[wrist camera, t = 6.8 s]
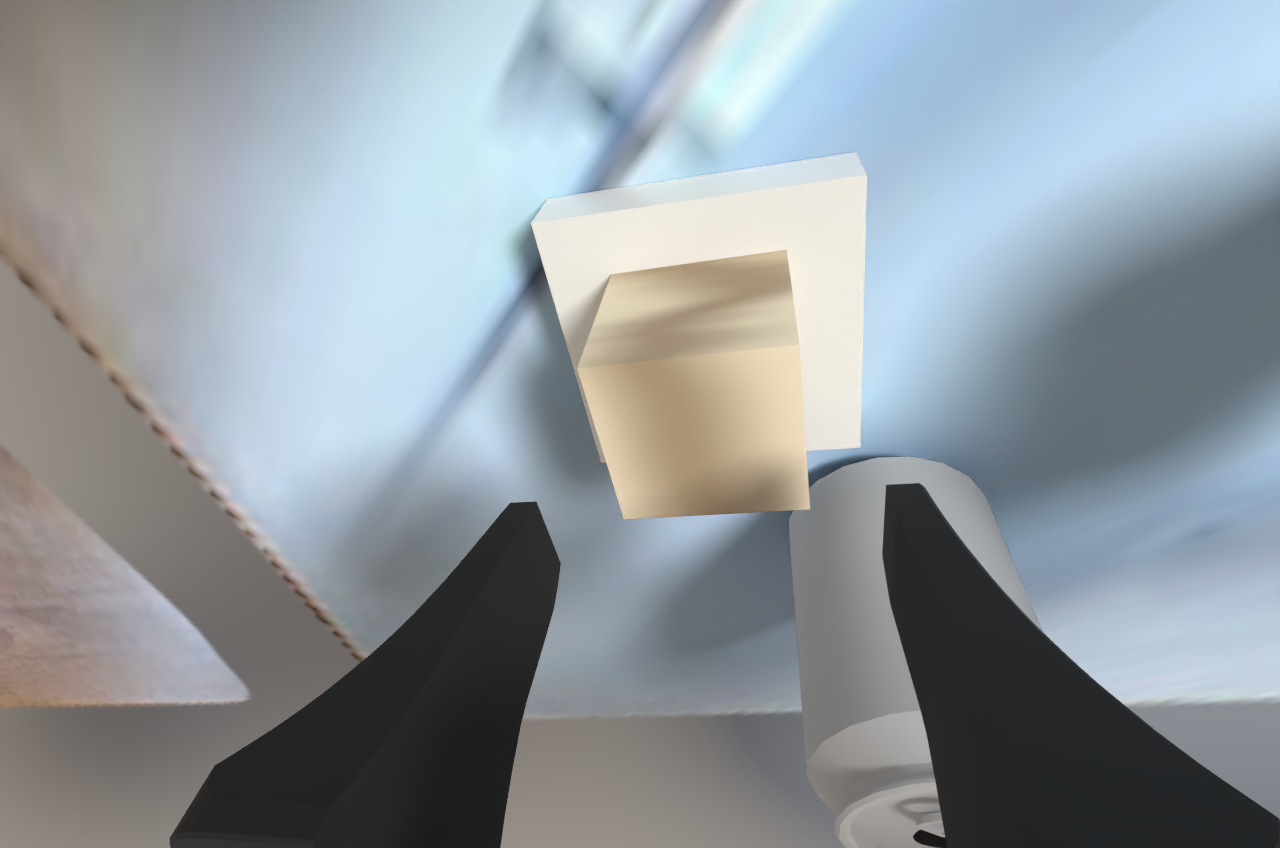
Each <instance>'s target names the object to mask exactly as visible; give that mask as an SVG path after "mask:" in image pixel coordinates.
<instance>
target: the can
mask: <svg viewBox="0 0 1280 848" xmlns="http://www.w3.org/2000/svg"><path fill="white" fill-rule="evenodd" d="M911 483H920V484H921V485H923V486H924V487H925V488H926V489H927V491H928V493H929V494H930V496H931V497H932V499H933V501H934V502H935V504H936V505H937V507H938V508H939V509H940V511H941V512H942V514H943V515H944V517H945V518H946V520H947V521H948V522H949V524H950V525H951V526H952V528H953V529H954V530H955V532H956V533H957V535H958V536H959V537H960V539H961V540H962V541H963V542H964V544H965V545H966V546H967V548H968V549H969V550H970V551H971V553H972V554H973V555H974V556H975V557H976V559H977V560H978V561H979V562H980V564H981V565H982V566H983V567H984V568H985V570H986V571H987V572H988V573H989V574H990V576H991V577H992V578H993V579H994V580H995V581H996V583H997V584H998V585H999V586H1000V587H1001V588H1002V590H1003V591H1004V592H1005V593H1006V594H1007V595H1008V596H1009V597H1010V598H1011V599H1012V600H1013V602H1014V603H1015V604H1016V605H1017V606H1018V607H1019V608H1020V609H1021V610H1022V611H1023V612H1024V613H1025V615H1026V616H1027V617H1028V618H1029V619H1030V620H1031V621H1032V622H1033V623H1034V624H1035V625H1036V626H1037V627H1038V628H1039V629H1040V630H1041V631H1042V629H1041V626H1040V624H1039V622H1038V619H1037V617H1036V615H1035V612H1034V610H1033V607H1032V605H1031V603H1030V600H1029V598H1028V595H1027V593H1026V591H1025V588H1024V586H1023V583H1022V581H1021V579H1020V576H1019V574H1018V572H1017V569H1016V567H1015V564H1014V562H1013V560H1012V557H1011V555H1010V552H1009V550H1008V548H1007V545H1006V543H1005V541H1004V538H1003V536H1002V533H1001V531H1000V529H999V526H998V524H997V521H996V519H995V517H994V514H993V512H992V509H991V507H990V505H989V502H988V500H987V498H986V495H985V494H984V493H983V492H982V491H981V489H980V488H979V487H978V486H977V485H976V484H975V483H974V481H973V480H972V479H971V478H970V477H969V476H967V475H965V474H963V473H961V472H960V471H958V470H956V469H954V468H952V467H950V466H948V465H946V464H944V463H941V462H936V461H931V460H926V459H921V458H916V457H912V456H910V457H879V458H873V459H869V460H865V461H861V462H857V463H853V464H850V465H846V466H843V467H841V468H840V469H838V470H836V471H834V472H832V473H830V474H828V475H827V476H825V477H823V478H821V479H819V480H817V481H816V482H815V483H814V484H813V485H812V486H811V487H810V488H809V499H810V509H808V510H793V512H792V514H791V516H790V518H789V541H790V554H791V567H792V580H793V593H794V606H795V619H796V633H797V646H798V659H799V672H800V685H801V698H802V711H803V723H804V724H803V725H804V737H805V751H806V764H807V777H808V781H809V783H810V784H811V785H812V787H813V788H814V790H815V791H816V793H817V794H818V795H819V797H820V798H821V799H822V800H823V801H824V802H825V803H826V804H827V805H828V806H829V807H830V808H831V810H832V811H833V812H834V813H835V814H836V817H835V835H836V836H837V838H838V839H839V841H840V842H841V843H842V845H843V846H844V847H845V848H947V844H946V839H945V833H944V827H943V822H942V816H941V810H940V805H939V799H938V793H937V788H936V782H935V777H934V772H933V766H932V761H931V755H930V750H929V745H928V739H927V734H926V730H925V726H924V722H923V718H922V714H921V710H920V707H919V703H918V700H917V696H916V693H915V689H914V686H913V682H912V679H911V675H910V672H909V668H908V665H907V661H906V658H905V654H904V651H903V647H902V644H901V640H900V637H899V633H898V630H897V626H896V623H895V619H894V616H893V612H892V609H891V605H890V600H889V594H888V588H887V582H886V576H885V570H884V564H883V557H882V549H883V531H884V512H885V494H886V485H890V484H911ZM1042 632H1043V631H1042Z"/></svg>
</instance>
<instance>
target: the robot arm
mask: <svg viewBox="0 0 1280 848" xmlns="http://www.w3.org/2000/svg"><path fill="white" fill-rule="evenodd" d="M882 557H883V564H884V570H885V576H886V582H887V588H888V594H889V600H890V605H891V609H892V612H893V616H894V619H895V623H896V626H897V630H898V633H899V637H900V640H901V644H902V647H903V651H904V654H905V658H906V661H907V665H908V668H909V672H910V675H911V679H912V682H913V686H914V689H915V693H916V696H917V700H918V703H919V707H920V710H921V714H922V718H923V722H924V726H925V730H926V734H927V739H928V745H929V750H930V755H931V761H932V766H933V772H934V777H935V782H936V788H937V793H938V799H939V805H940V810H941V816H942V822H943V827H944V833H945V839H946V844H947V848H1280V820H1279V818H1278V817H1276V816H1275V815H1273V814H1272V813H1270V812H1269V811H1267V810H1266V809H1264V808H1263V807H1261V806H1260V805H1259V804H1257V803H1256V802H1254V801H1253V800H1251V799H1250V798H1248V797H1247V796H1245V795H1244V794H1242V793H1241V792H1240V791H1238V790H1237V789H1235V788H1233V787H1232V786H1231V785H1229V784H1228V783H1226V782H1225V781H1223V780H1222V779H1221V778H1219V777H1218V776H1216V775H1215V774H1213V773H1212V772H1210V771H1209V770H1208V769H1206V768H1205V767H1203V766H1202V765H1201V764H1199V763H1198V762H1196V761H1195V760H1194V759H1193V758H1191V757H1190V756H1188V755H1187V754H1186V753H1184V752H1183V751H1182V750H1181V749H1179V748H1178V747H1176V746H1175V745H1174V744H1173V743H1171V742H1170V741H1169V740H1167V739H1166V738H1165V737H1163V736H1162V735H1161V734H1159V733H1158V732H1157V731H1155V730H1154V729H1153V728H1152V727H1151V726H1149V725H1148V724H1147V723H1145V722H1144V721H1143V720H1142V719H1141V718H1140V717H1138V716H1137V715H1136V714H1135V713H1133V712H1132V711H1131V710H1130V709H1129V708H1127V707H1126V706H1125V705H1124V704H1122V703H1121V702H1120V701H1119V700H1118V699H1116V698H1115V697H1114V696H1113V695H1111V694H1110V693H1109V692H1108V691H1107V690H1105V689H1104V688H1103V687H1102V686H1100V685H1099V684H1098V683H1097V682H1096V681H1095V680H1094V679H1092V678H1091V677H1090V676H1089V675H1088V674H1087V673H1086V672H1085V671H1084V670H1082V669H1081V668H1080V667H1079V666H1078V665H1077V664H1076V663H1075V662H1074V661H1072V660H1071V659H1070V658H1069V657H1068V656H1067V655H1066V654H1065V653H1064V652H1063V651H1062V650H1061V649H1060V648H1059V647H1058V646H1057V645H1055V644H1054V643H1053V642H1052V641H1051V640H1050V639H1049V638H1048V637H1047V636H1046V635H1045V634H1044V633H1043V632H1042V631H1041V630H1040V629H1039V628H1038V627H1037V626H1036V625H1035V624H1034V623H1033V622H1032V621H1031V620H1030V619H1029V618H1028V617H1027V616H1026V615H1025V613H1024V612H1023V611H1022V610H1021V609H1020V608H1019V607H1018V606H1017V605H1016V604H1015V603H1014V602H1013V600H1012V599H1011V598H1010V597H1009V596H1008V595H1007V594H1006V593H1005V592H1004V591H1003V590H1002V588H1001V587H1000V586H999V585H998V584H997V583H996V581H995V580H994V579H993V578H992V577H991V576H990V574H989V573H988V572H987V571H986V570H985V568H984V567H983V566H982V565H981V564H980V562H979V561H978V560H977V559H976V557H975V556H974V555H973V554H972V553H971V551H970V550H969V549H968V548H967V546H966V545H965V544H964V542H963V541H962V540H961V539H960V537H959V536H958V535H957V533H956V532H955V530H954V529H953V528H952V526H951V525H950V524H949V522H948V521H947V520H946V518H945V517H944V515H943V514H942V512H941V511H940V509H939V508H938V507H937V505H936V504H935V502H934V501H933V499H932V497H931V496H930V494H929V493H928V491H927V489H926V488H925V487H924V486H923V485H921V484H920V483H911V484H890V485H886V494H885V512H884V531H883V549H882ZM560 565H561V563H560V561H559V558H558V556H557V553H556V550H555V548H554V545H553V543H552V540H551V538H550V535H549V533H548V530H547V528H546V525H545V523H544V520H543V518H542V515H541V513H540V510H539V508H538V505H537V502H519V503H510V504H509V505H508V506H507V507H506V508H505V510H504V511H503V512H502V513H501V514H500V516H499V517H498V518H497V519H496V520H495V522H494V523H493V524H492V525H491V526H490V528H489V529H488V530H487V531H486V532H485V534H484V535H483V536H482V537H481V539H480V540H479V541H478V542H477V543H476V545H475V546H474V547H473V548H472V549H471V551H470V552H469V553H468V554H467V555H466V557H465V558H464V559H463V560H462V561H461V562H460V564H459V565H458V566H457V567H456V568H455V569H454V571H453V572H452V573H451V574H450V575H449V576H448V578H447V579H446V580H445V581H444V582H443V583H442V584H441V585H440V586H439V588H438V589H437V590H436V591H435V592H434V593H433V594H432V595H431V596H430V597H429V598H428V599H427V600H426V601H425V603H424V604H423V605H422V606H421V607H420V608H419V609H418V610H417V611H416V612H415V613H414V614H413V615H412V616H411V617H410V618H409V619H408V620H407V621H406V622H405V623H404V624H403V625H402V626H401V627H400V628H399V629H398V630H397V631H396V632H395V633H394V634H393V635H392V636H391V637H389V638H388V639H387V640H386V641H385V642H384V643H383V644H382V645H381V646H380V647H379V648H377V649H376V650H375V651H374V652H373V653H372V654H371V655H370V656H368V657H367V658H366V659H365V660H364V661H362V662H361V663H360V664H359V665H357V666H356V667H355V668H354V669H353V670H351V671H350V672H349V673H348V674H347V675H345V676H344V677H343V678H342V679H340V680H339V681H338V682H337V683H336V684H334V685H333V686H332V687H331V688H329V689H328V690H327V691H325V692H324V693H323V694H322V695H320V696H319V697H317V698H316V699H315V700H313V701H312V702H311V703H309V704H308V705H307V706H305V707H304V708H302V709H301V710H300V711H298V712H297V713H295V714H294V715H292V716H291V717H290V718H288V719H287V720H285V721H284V722H283V723H281V724H280V725H278V726H277V727H275V728H274V729H272V730H271V731H269V732H268V733H266V734H264V735H263V736H261V737H260V738H258V739H257V740H255V741H253V742H252V743H250V744H249V745H247V746H246V747H244V748H242V749H241V750H239V751H238V752H236V753H235V754H233V755H231V756H230V757H228V758H227V759H225V760H223V761H222V762H220V763H218V764H217V765H215V766H214V768H213V770H212V771H211V773H210V774H209V776H208V777H207V779H206V781H205V782H204V784H203V785H202V787H201V789H200V790H199V792H198V793H197V795H196V797H195V798H194V800H193V802H192V803H191V805H190V806H189V808H188V810H187V811H186V813H185V815H184V816H183V818H182V819H181V821H180V823H179V824H178V826H177V827H176V829H175V831H174V832H173V834H172V836H171V837H170V847H171V848H500V845H501V838H502V831H503V824H504V817H505V810H506V804H507V798H508V792H509V786H510V780H511V774H512V768H513V763H514V758H515V752H516V747H517V742H518V736H519V731H520V726H521V722H522V718H523V714H524V710H525V706H526V702H527V698H528V695H529V692H530V688H531V685H532V681H533V678H534V675H535V671H536V668H537V665H538V661H539V658H540V654H541V651H542V648H543V644H544V641H545V637H546V634H547V630H548V627H549V623H550V620H551V616H552V613H553V609H554V604H555V598H556V593H557V586H558V579H559V572H560Z"/></svg>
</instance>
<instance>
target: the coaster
mask: <svg viewBox="0 0 1280 848" xmlns="http://www.w3.org/2000/svg"><path fill="white" fill-rule="evenodd" d="M866 194H867V174H866V172H865V170H864V168H863V165H862V163H861V161H860V159H859V157H858V155H857V153H856V152H852V153H846V154H839V155H832V156H826V157H819V158H813V159H806V160H799V161H793V162H786V163H780V164H773V165H766V166H760V167H753V168H747V169H740V170H733V171H727V172H720V173H714V174H707V175H700V176H694V177H687V178H681V179H674V180H667V181H661V182H654V183H648V184H641V185H634V186H628V187H621V188H615V189H608V190H601V191H595V192H588V193H582V194H575V195H568V196H562V197H555V198H549V199H547V200H546V202H545V203H544V205H543V206H542V207H541V209H540V210H539V212H538V213H537V215H536V216H535V218H534V219H533V221H532V222H531V226H532V229H533V232H534V236H535V239H536V243H537V246H538V249H539V253H540V256H541V260H542V263H543V266H544V270H545V273H546V277H547V280H548V284H549V287H550V290H551V294H552V297H553V301H554V304H555V307H556V311H557V314H558V318H559V321H560V325H561V328H562V331H563V335H564V338H565V342H566V345H567V348H568V352H569V355H570V359H571V362H572V365H573V369H574V372H575V376H576V379H577V383H578V386H579V389H580V393H581V396H582V400H583V403H584V406H585V410H586V413H587V417H588V420H589V424H590V427H591V430H592V434H593V437H594V441H595V444H596V447H597V451H598V454H599V458H600V461H601V463H606V460H605V457H604V454H603V450H602V447H601V444H600V441H599V437H598V434H597V431H596V428H595V425H594V421H593V418H592V415H591V412H590V408H589V405H588V402H587V399H586V396H585V392H584V389H583V386H582V383H581V379H580V376H579V373H578V370H577V368H578V365H579V362H580V359H581V357H582V354H583V351H584V348H585V345H586V343H587V340H588V337H589V334H590V332H591V329H592V326H593V323H594V321H595V318H596V315H597V312H598V309H599V307H600V304H601V301H602V298H603V296H604V293H605V290H606V287H607V285H608V282H609V279H610V276H611V274H617V273H624V272H631V271H638V270H645V269H652V268H659V267H666V266H673V265H681V264H688V263H695V262H702V261H709V260H716V259H723V258H730V257H737V256H744V255H752V254H759V253H766V252H773V251H780V250H787V255H788V263H789V270H790V278H791V285H792V293H793V300H794V308H795V315H796V322H797V330H798V337H799V345H800V361H801V376H802V391H803V407H804V422H805V437H806V451H812V450H828V449H845V448H860V436H861V396H862V355H863V315H864V274H865V234H866Z"/></svg>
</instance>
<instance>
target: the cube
mask: <svg viewBox="0 0 1280 848" xmlns="http://www.w3.org/2000/svg"><path fill="white" fill-rule="evenodd" d="M577 370H578V373H579V376H580V379H581V383H582V386H583V389H584V392H585V396H586V399H587V402H588V405H589V408H590V412H591V415H592V418H593V421H594V425H595V428H596V431H597V434H598V437H599V441H600V444H601V447H602V450H603V454H604V457H605V460H606V463H607V466H608V470H609V473H610V476H611V479H612V483H613V486H614V489H615V492H616V495H617V499H618V502H619V505H620V508H621V512H622V515H623V518H624V519H640V518H659V517H677V516H696V515H715V514H733V513H752V512H771V511H789V510H808V509H810V499H809V484H808V468H807V453H806V437H805V422H804V407H803V391H802V376H801V361H800V345H799V337H798V330H797V322H796V315H795V308H794V300H793V293H792V285H791V278H790V270H789V263H788V255H787V250H780V251H773V252H766V253H759V254H752V255H744V256H737V257H730V258H723V259H716V260H709V261H702V262H695V263H688V264H681V265H673V266H666V267H659V268H652V269H645V270H638V271H631V272H624V273H617V274H611V276H610V279H609V282H608V285H607V287H606V290H605V293H604V296H603V298H602V301H601V304H600V307H599V309H598V312H597V315H596V318H595V321H594V323H593V326H592V329H591V332H590V334H589V337H588V340H587V343H586V345H585V348H584V351H583V354H582V357H581V359H580V362H579V365H578V368H577Z"/></svg>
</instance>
